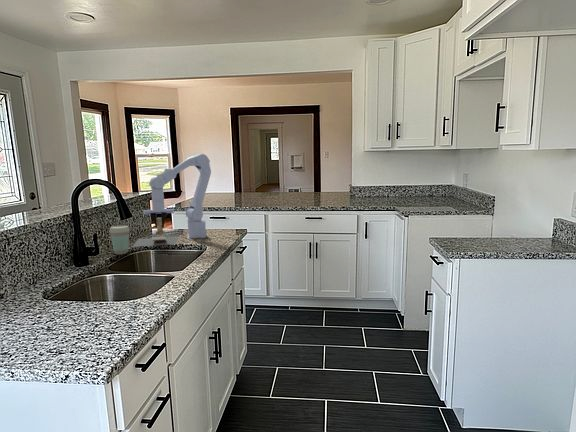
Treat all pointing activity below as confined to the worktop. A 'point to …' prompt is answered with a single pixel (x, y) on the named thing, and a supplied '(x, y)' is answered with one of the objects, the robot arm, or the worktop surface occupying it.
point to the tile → (159, 239)
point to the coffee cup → (120, 238)
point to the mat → (151, 243)
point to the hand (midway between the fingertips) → (159, 227)
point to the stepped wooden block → (159, 226)
